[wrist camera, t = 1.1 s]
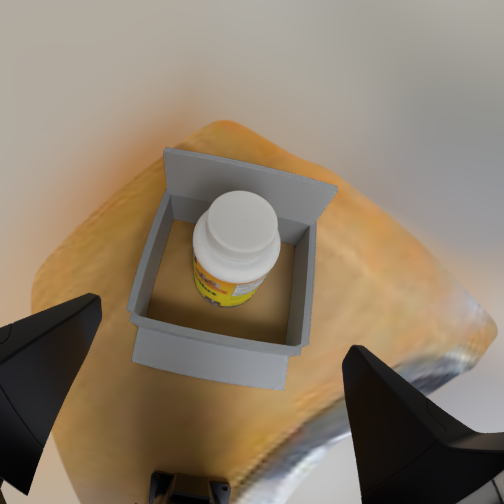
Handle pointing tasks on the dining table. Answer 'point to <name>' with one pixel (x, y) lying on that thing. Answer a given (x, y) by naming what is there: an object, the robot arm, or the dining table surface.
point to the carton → (190, 210)
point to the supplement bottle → (234, 248)
